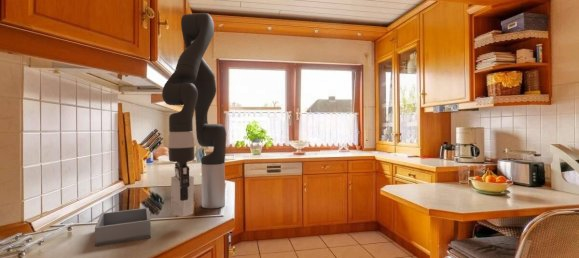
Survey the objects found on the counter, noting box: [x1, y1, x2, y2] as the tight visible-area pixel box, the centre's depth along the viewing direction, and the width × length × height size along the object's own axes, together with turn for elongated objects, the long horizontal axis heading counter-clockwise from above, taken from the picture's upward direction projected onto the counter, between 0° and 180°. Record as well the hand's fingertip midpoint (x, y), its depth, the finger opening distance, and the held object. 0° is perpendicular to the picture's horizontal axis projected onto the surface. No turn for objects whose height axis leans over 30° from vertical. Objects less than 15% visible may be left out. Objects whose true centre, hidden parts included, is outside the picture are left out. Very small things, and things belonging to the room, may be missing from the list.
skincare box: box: [170, 175, 195, 218], centre depth 95 cm, size 6×4×12 cm
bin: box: [94, 207, 152, 247], centre depth 90 cm, size 16×14×5 cm
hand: (182, 197), depth 95 cm, fingers closed on skincare box, 7 cm apart
